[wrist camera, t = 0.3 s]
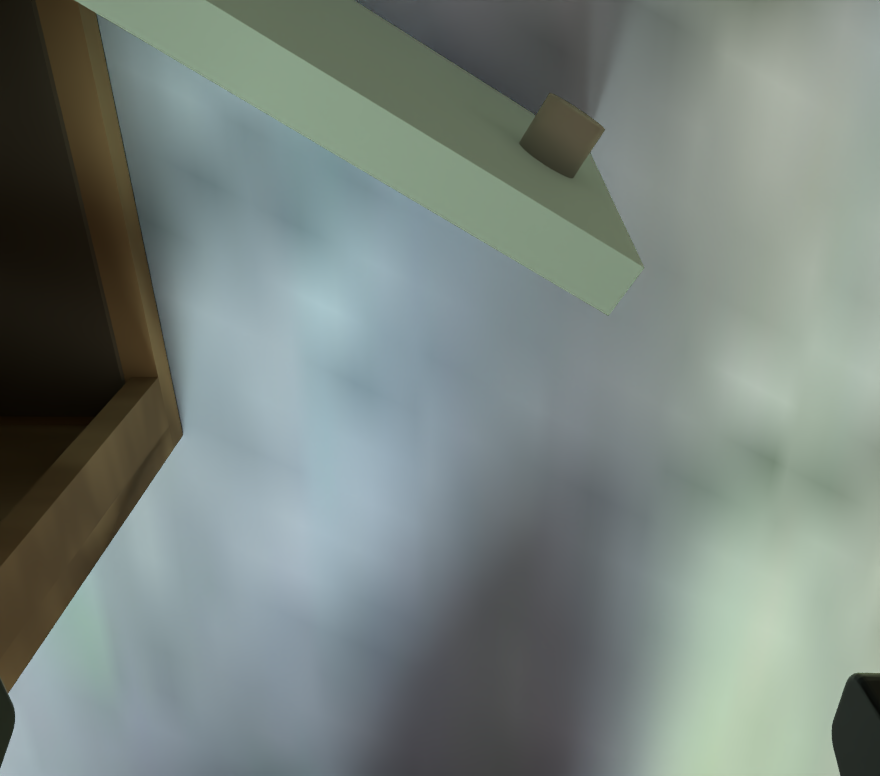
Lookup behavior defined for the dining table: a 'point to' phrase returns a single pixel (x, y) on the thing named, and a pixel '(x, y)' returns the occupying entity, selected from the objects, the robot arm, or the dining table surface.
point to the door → (411, 126)
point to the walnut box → (68, 323)
